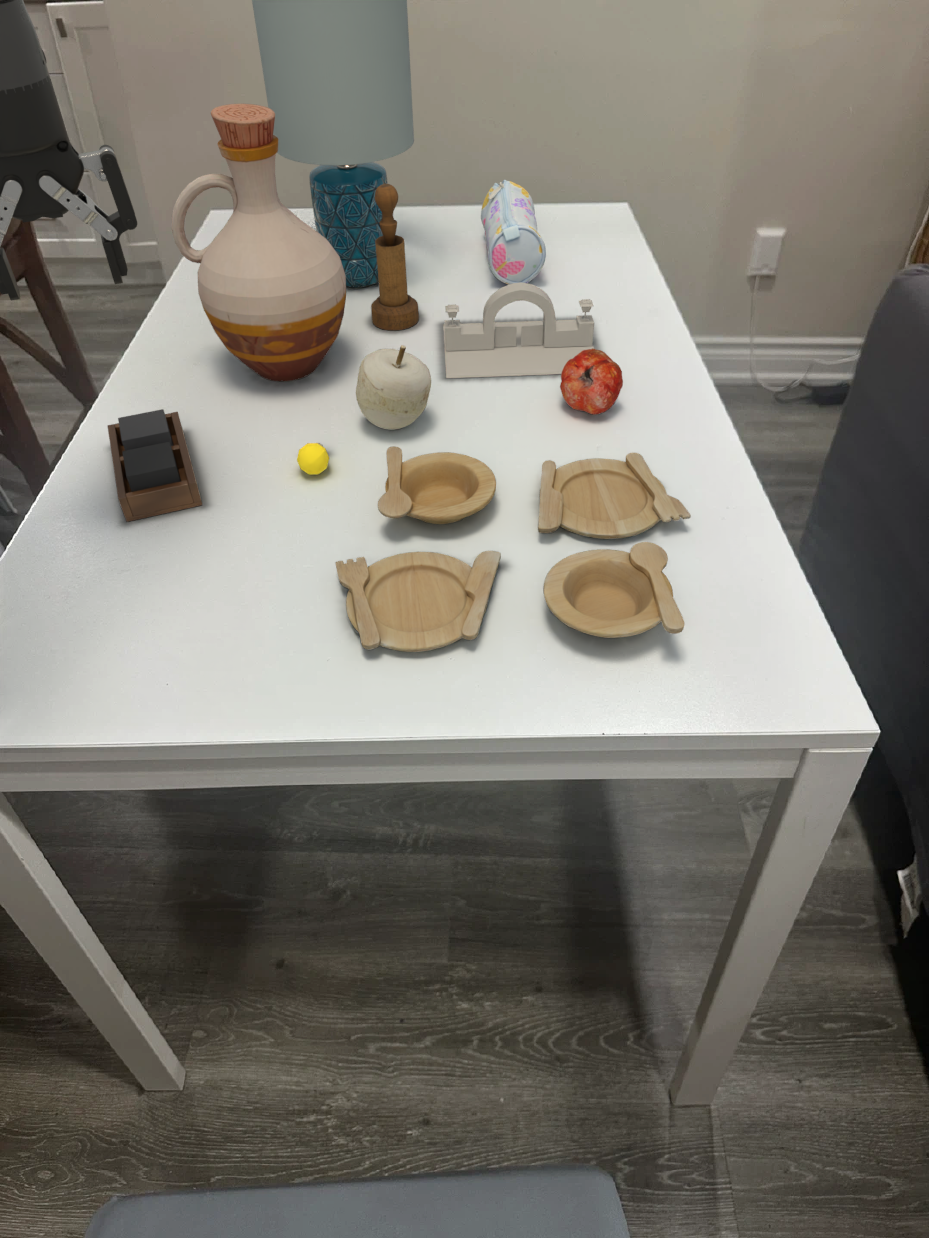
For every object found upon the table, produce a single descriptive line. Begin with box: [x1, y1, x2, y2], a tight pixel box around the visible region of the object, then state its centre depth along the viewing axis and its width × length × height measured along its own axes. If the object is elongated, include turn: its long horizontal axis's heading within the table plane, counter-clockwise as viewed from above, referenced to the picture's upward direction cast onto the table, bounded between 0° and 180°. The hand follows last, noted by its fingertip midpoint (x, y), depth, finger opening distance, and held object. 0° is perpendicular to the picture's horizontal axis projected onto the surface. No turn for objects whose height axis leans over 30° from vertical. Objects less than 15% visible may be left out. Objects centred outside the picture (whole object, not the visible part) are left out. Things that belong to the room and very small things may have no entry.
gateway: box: [442, 282, 595, 352], centre depth 114 cm, size 20×2×8 cm, turn 93°
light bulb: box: [296, 442, 330, 476], centre depth 97 cm, size 3×6×4 cm, turn 1°
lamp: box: [251, 0, 415, 288], centre depth 120 cm, size 19×19×38 cm
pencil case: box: [480, 179, 547, 285], centre depth 133 cm, size 21×9×10 cm, turn 2°
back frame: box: [107, 411, 203, 523], centre depth 96 cm, size 8×15×3 cm, turn 21°
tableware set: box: [334, 445, 692, 653], centre depth 85 cm, size 35×29×4 cm
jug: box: [171, 103, 347, 382], centre depth 103 cm, size 20×18×30 cm
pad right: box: [117, 408, 174, 451], centre depth 97 cm, size 5×5×4 cm
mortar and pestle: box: [370, 183, 420, 331], centre depth 117 cm, size 7×6×18 cm
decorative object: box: [355, 344, 432, 431], centre depth 100 cm, size 9×9×10 cm
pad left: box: [122, 442, 181, 492], centre depth 93 cm, size 5×5×4 cm
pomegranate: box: [559, 348, 624, 415], centre depth 103 cm, size 7×7×10 cm
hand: (68, 288), depth 75 cm, fingers open, 8 cm apart
